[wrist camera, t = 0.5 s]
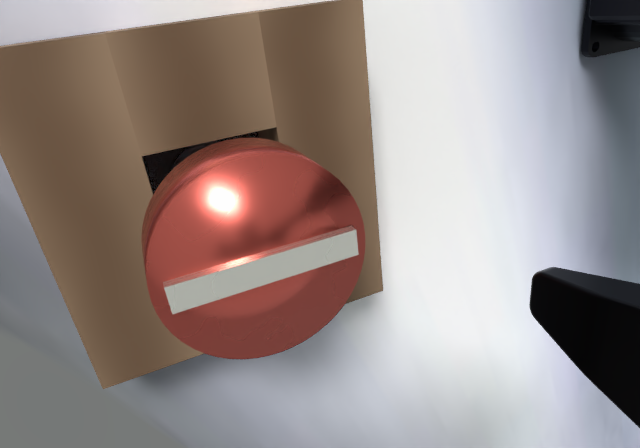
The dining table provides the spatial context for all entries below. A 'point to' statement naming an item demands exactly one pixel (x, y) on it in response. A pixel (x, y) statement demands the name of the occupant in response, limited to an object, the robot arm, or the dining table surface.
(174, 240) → the no entry disc
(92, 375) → the dining table surface
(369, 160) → the eye block
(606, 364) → the robot arm
